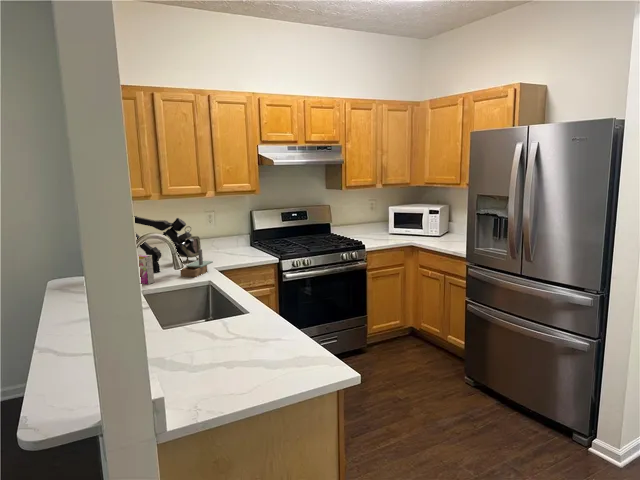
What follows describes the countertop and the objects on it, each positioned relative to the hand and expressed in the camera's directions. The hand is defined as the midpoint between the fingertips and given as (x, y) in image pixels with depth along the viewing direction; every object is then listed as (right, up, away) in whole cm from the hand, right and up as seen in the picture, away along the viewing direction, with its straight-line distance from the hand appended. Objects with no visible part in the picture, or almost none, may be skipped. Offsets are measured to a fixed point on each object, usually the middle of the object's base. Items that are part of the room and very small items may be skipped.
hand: (191, 254), depth 270 cm
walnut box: (+3, -12, -2) cm, 13 cm away
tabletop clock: (-12, -6, +37) cm, 39 cm away
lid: (+4, -6, +3) cm, 9 cm away
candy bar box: (-21, -16, -20) cm, 33 cm away
